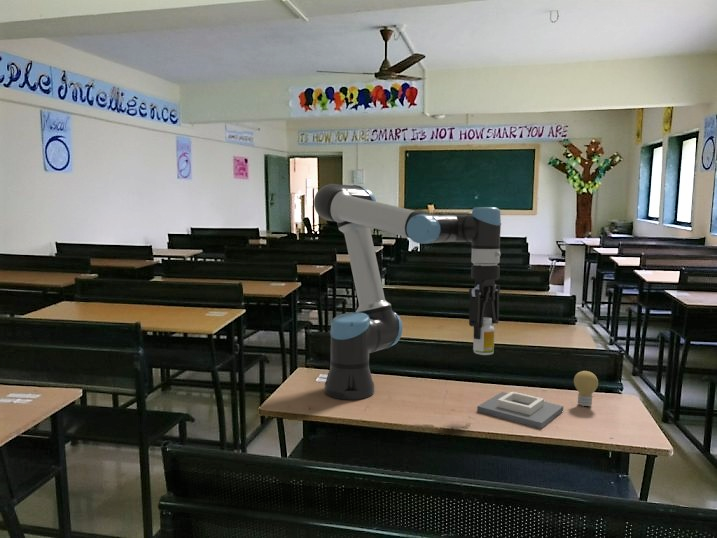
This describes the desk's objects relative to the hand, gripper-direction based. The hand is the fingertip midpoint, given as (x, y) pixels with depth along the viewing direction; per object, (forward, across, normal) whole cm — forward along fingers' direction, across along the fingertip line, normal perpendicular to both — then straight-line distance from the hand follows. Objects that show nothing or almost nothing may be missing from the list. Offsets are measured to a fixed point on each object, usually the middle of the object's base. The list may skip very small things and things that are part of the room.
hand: (483, 348), depth 148 cm
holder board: (+18, +6, -8) cm, 20 cm away
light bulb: (+18, +23, -20) cm, 36 cm away
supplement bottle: (+2, 0, 0) cm, 2 cm away
